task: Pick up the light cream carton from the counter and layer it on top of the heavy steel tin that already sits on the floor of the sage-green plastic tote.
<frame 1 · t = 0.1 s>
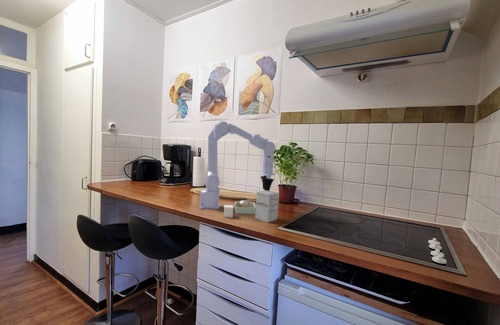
hand: (266, 190, 122), 10 cm above the worktop, fingers open, 7 cm apart
steel tin: (244, 209, 118), resting on sage tote
sage tote: (244, 211, 117), on the worktop
cream carton: (228, 217, 105), on the worktop
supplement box: (266, 220, 104), on the worktop
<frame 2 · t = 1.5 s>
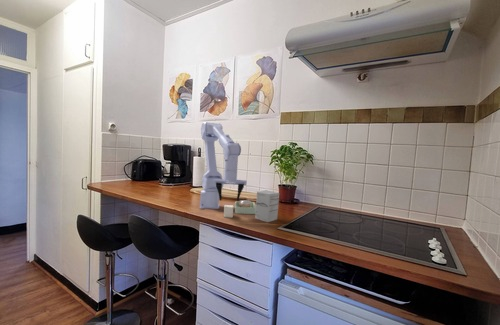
hand: (229, 200, 105), 8 cm above the worktop, fingers open, 7 cm apart
nothing on the worktop moved.
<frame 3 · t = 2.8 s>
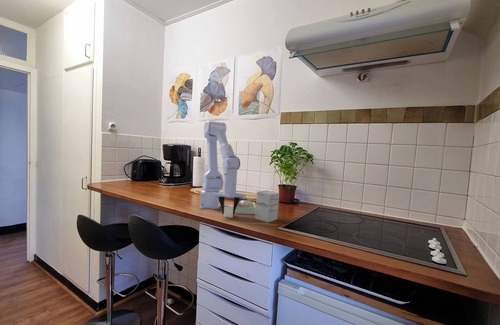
hand: (228, 213, 105), 1 cm above the worktop, fingers closed on cream carton, 4 cm apart
cream carton: (228, 217, 105), on the worktop, touching gripper
everything else where it was.
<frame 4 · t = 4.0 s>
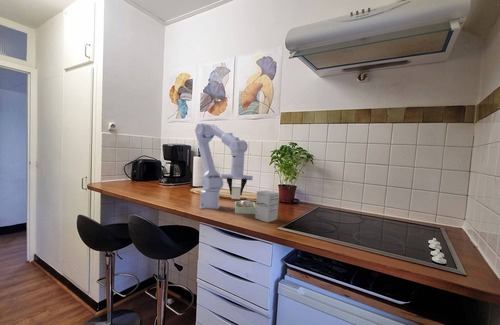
hand: (235, 194, 109), 9 cm above the worktop, fingers closed on cream carton, 4 cm apart
cream carton: (235, 198, 109), point 8 cm above the worktop, touching gripper
everything else where it was.
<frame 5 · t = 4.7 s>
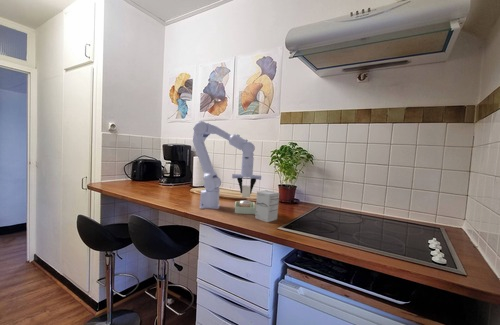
hand: (245, 193, 117), 9 cm above the worktop, fingers closed on cream carton, 4 cm apart
cream carton: (245, 196, 117), point 7 cm above the worktop, touching gripper
everything else where it was.
when the fingers open (8 cm above the worktop, at t = 5.3 s): cream carton drops 1 cm, resting on steel tin.
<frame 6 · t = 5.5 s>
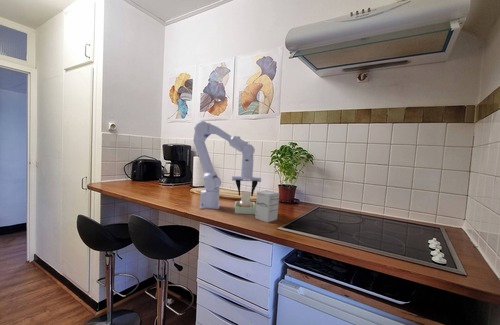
hand: (245, 195, 117), 8 cm above the worktop, fingers open, 6 cm apart
steel tin: (244, 209, 118), resting on sage tote, touching cream carton
cream carton: (245, 201, 117), point 5 cm above the worktop, touching steel tin
everything else where it was.
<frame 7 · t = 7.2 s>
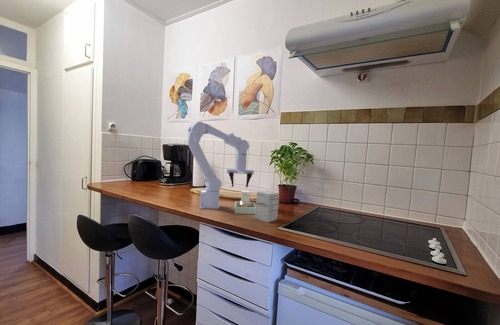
hand: (239, 186, 127), 10 cm above the worktop, fingers open, 7 cm apart
nothing on the worktop moved.
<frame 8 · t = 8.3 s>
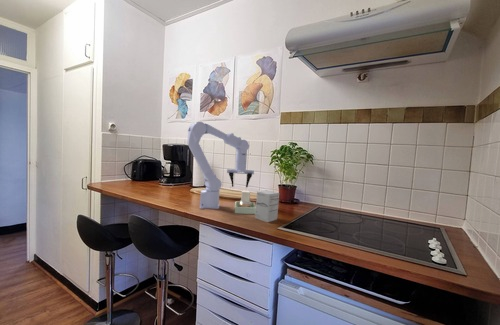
hand: (239, 186, 127), 10 cm above the worktop, fingers open, 7 cm apart
nothing on the worktop moved.
at the end: cream carton 0.1 cm off-centre on the steel tin, point 4.4 cm above the steel tin's base; the gripper is holding nothing; steel tin moved 0.0 cm from its start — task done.
